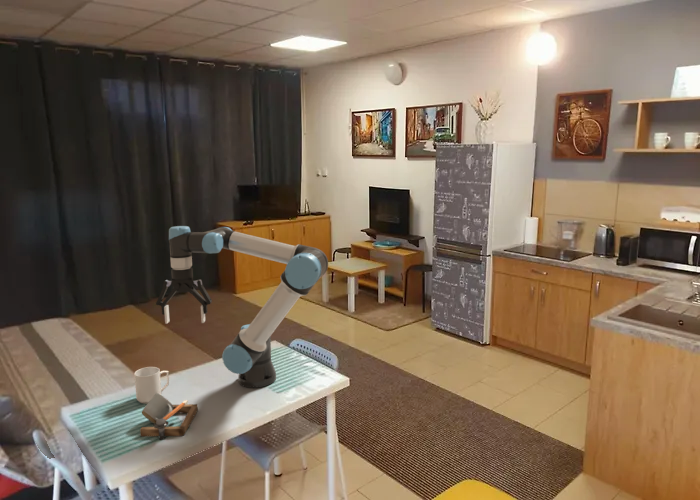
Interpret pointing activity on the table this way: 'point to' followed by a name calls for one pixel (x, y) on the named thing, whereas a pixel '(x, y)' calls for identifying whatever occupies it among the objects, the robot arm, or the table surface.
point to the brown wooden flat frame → (176, 430)
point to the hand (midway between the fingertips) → (185, 322)
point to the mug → (148, 383)
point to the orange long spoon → (170, 414)
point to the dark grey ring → (161, 430)
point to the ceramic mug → (157, 408)
